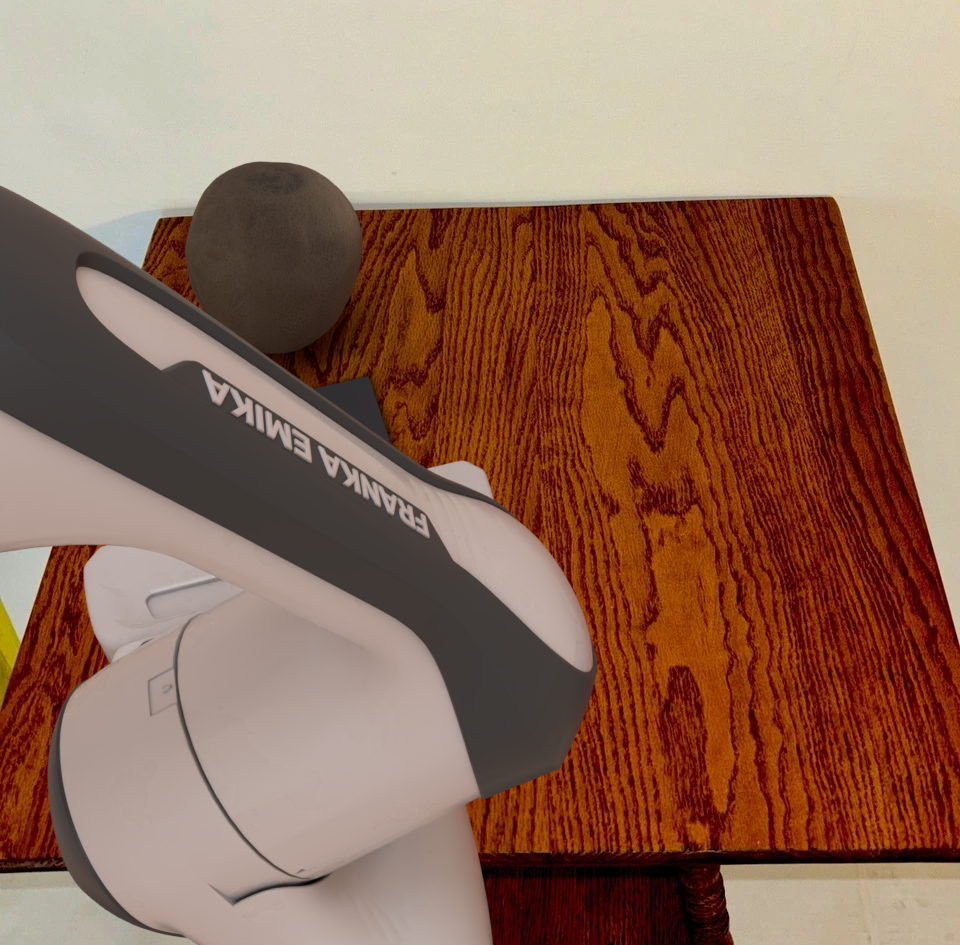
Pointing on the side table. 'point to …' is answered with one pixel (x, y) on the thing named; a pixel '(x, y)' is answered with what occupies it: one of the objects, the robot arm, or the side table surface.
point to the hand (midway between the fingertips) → (279, 459)
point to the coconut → (274, 254)
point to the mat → (357, 403)
